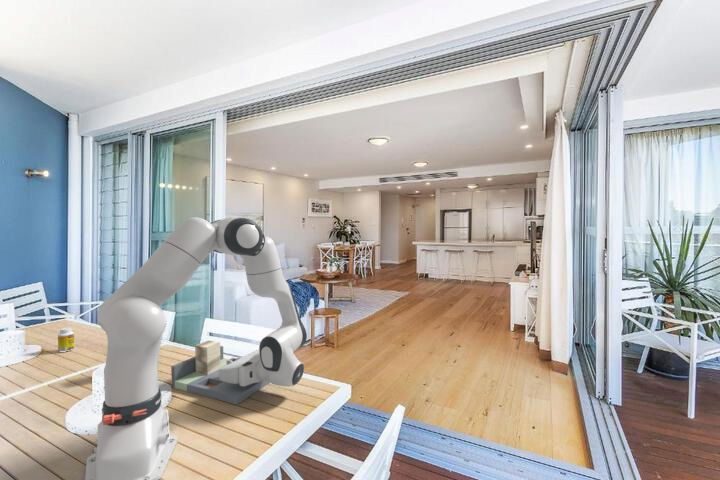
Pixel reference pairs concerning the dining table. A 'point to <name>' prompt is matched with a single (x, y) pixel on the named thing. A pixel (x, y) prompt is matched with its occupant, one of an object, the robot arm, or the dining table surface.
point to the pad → (193, 377)
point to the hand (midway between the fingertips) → (229, 361)
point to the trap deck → (213, 383)
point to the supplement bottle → (65, 339)
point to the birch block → (207, 357)
